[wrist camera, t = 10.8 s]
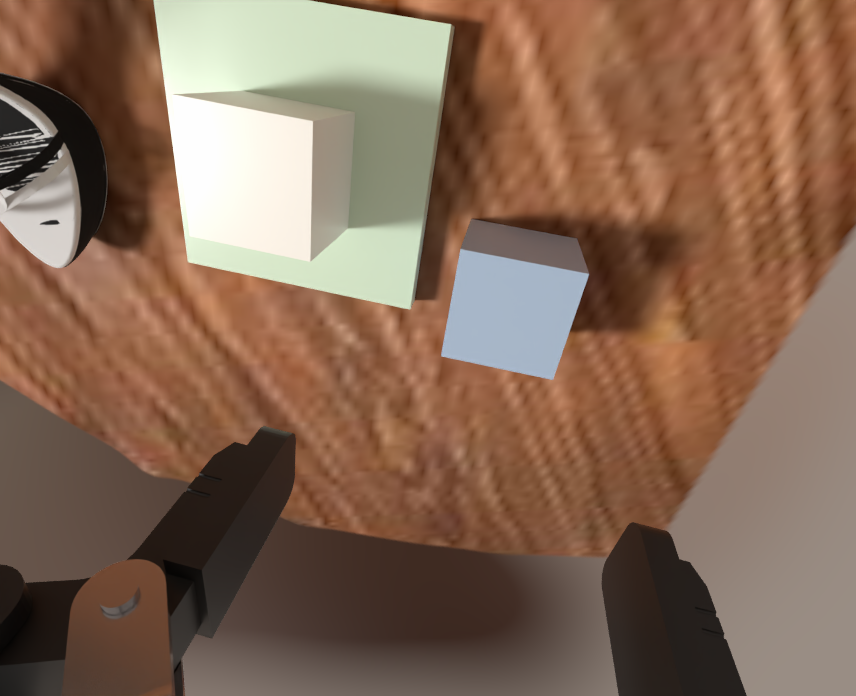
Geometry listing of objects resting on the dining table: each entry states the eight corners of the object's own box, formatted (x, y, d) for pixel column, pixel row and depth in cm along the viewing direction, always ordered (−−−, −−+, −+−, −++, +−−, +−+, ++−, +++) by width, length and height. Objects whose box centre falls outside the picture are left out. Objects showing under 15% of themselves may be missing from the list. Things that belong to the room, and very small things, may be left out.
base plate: (454, 26, 20) (451, 24, 19) (414, 300, 26) (410, 309, 25) (168, -22, 21) (150, -27, 20) (200, 255, 27) (188, 262, 26)
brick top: (576, 238, 23) (589, 274, 19) (547, 330, 26) (552, 379, 22) (471, 218, 24) (460, 249, 19) (453, 311, 27) (441, 356, 22)
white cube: (355, 112, 21) (312, 121, 17) (348, 228, 24) (310, 261, 19) (241, 90, 21) (172, 94, 17) (248, 207, 24) (189, 236, 20)
